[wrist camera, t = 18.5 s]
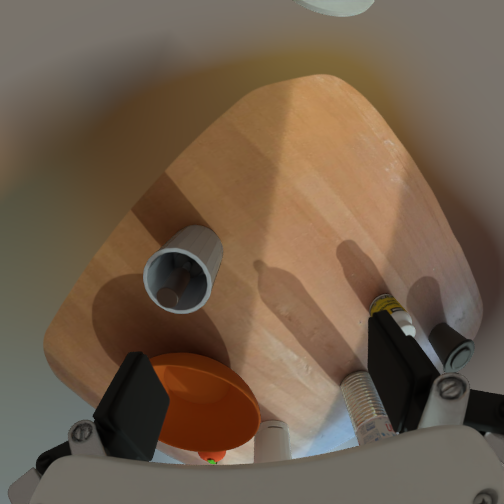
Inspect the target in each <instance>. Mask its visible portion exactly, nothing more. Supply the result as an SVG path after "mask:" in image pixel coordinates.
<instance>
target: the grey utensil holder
mask: <svg viewBox="0 0 504 504" xmlns="http://www.w3.org/2000/svg"><path fill="white" fill-rule="evenodd" d="M179 253H182V254H186V255H188V256H189V257H191V258H193V259H195V260H196V262H197V263H198V264H199V265H200V266H201V267H202V269H203V270H202V272H201V273H200V274H199V275H198V276H197V277H195V278H190V281H189V283H188V285H187V287H186V289H185V291H184V292H183V294H182V296H181V298H180V300H179V302H178V304H177V305H176V306H175V307H173V308H165V307H163V306H161V305H160V304H159V303H158V301H157V297H156V295H157V292H158V290H159V289H160V287H161V286H162V285H163V283H164V282H165V281H166V279H167V278H168V277H169V275H170V274H171V273H172V271H173V270H174V269H175V265H174V261H175V258H176V256H177V255H178V254H179ZM222 258H223V247H222V243H221V241H220V239H219V237H218V236H217V235H216V234H215V233H214V232H213V231H212V230H210V229H209V228H207V227H204V226H200V225H191V226H187V227H185V228H183V229H181V230H180V231H178V232H177V233H176V234H175V235H174V236H173V237H172V238H171V239H170V240H169V241H167V242H166V243H165V244H164V245H163V246H162V247H161V248H160V249H159V250H158V251H157V252H156V253H154V254H153V255H152V256H151V257H150V258H149V260H148V261H147V263H146V265H145V268H144V274H143V280H144V285H145V288H146V291H147V293H148V294H149V296H150V298H151V299H152V300H153V301H154V302H155V303H156V304H157V305H158V306H160V307H161V308H163V309H165V310H166V311H169V312H173V313H176V314H187V313H190V312H193V311H196V310H198V309H199V308H201V307H202V306H203V305H204V304H205V303H206V301H207V300H208V298H209V297H210V294H211V291H212V288H213V285H214V282H215V279H216V276H217V273H218V271H219V268H220V265H221V261H222Z"/></svg>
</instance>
